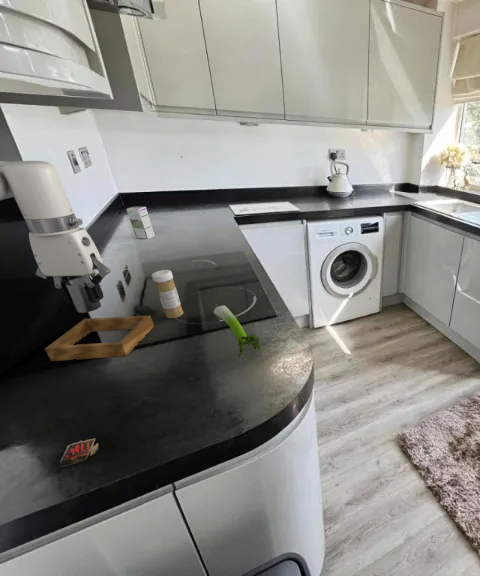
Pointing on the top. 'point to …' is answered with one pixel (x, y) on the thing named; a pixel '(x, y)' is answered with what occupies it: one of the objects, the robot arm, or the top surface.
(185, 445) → the top surface
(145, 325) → the wooden frame
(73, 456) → the matchbox
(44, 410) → the top surface
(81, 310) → the gray metal cup
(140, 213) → the syrup box
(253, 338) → the celery stalk
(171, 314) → the sprinkles bottle
